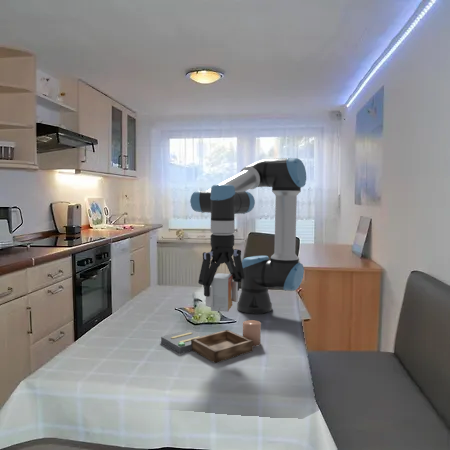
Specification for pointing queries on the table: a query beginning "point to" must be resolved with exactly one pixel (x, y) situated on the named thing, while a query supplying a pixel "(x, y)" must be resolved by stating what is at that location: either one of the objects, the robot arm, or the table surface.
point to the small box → (222, 292)
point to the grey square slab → (180, 340)
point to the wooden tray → (221, 345)
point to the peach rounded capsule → (252, 331)
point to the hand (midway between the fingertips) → (221, 303)
